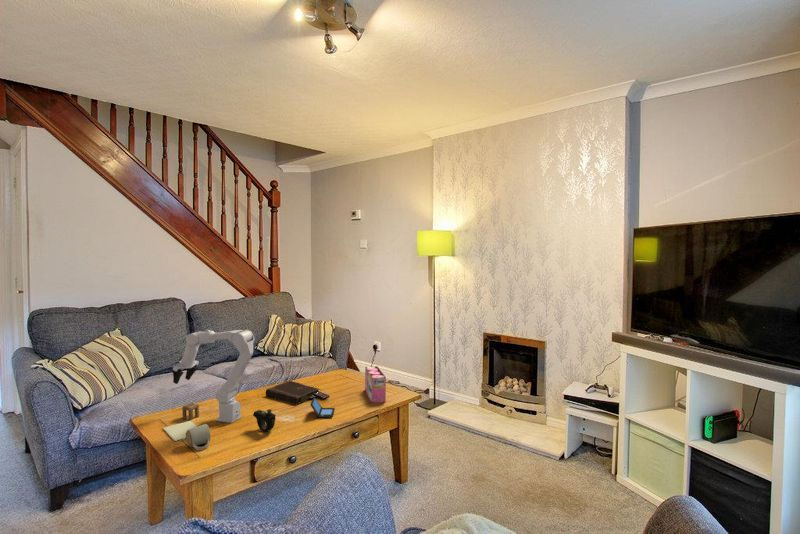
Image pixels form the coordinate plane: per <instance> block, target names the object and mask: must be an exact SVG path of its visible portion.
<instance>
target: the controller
mask: <svg viewBox="0 0 800 534" xmlns="http://www.w3.org/2000/svg"><path fill="white" fill-rule="evenodd" d="M272 411H273V409H267V410H266V411H265V410H261V409H258V410H255V411H253V414H252V415H253V417H254V418H255V419H256V422H257V423H256V424H257V426H258V428H259V429H260V430H261V431H262V432H265V433H266V432H269V431H272V429H274V426H275V424H276V423H275V422H276V416H277V415H276V414H275V413H273V412H272Z"/></svg>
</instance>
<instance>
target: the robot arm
mask: <svg viewBox="0 0 800 534" xmlns="http://www.w3.org/2000/svg"><path fill="white" fill-rule="evenodd" d="M217 340H228V341H229V342H230V343H232V345H233V346H234V347H235V348H236V350H237V351H238V352H239V356H238V357H237V360H236V362H235V363H234V365H233V367H232V369H231V371H230V374H229V376H228V378H227V379H226V381H225V382H224V384H223V385H222V386H221V387H220V388H219V389H218V390H217V391H216V393H215V399H216V401H217V402H218V416H219V417H217V418H216V419H215V420H214V421H215V422H223V423H229V424H231V423H234V422H236V421H237V420H239V419H241V418H243V417H242V414H241V413H242V409H241V408H242V405H241V402H239V401H238V400H236V396H237V395H238V393H239V391H238V390H239V387H240V384H239V383H240V380H241V378H242V376H243V374H244V372H245V371H246V368H247V367H248V364H249V362H250V360H251V358H252V356H253V354H254V341H255V336H254V334H253V332H252V331H251V330H250V329H245V330H243V329H236V330H228V331H220V332H215V331H214V330H211V329H207V330H205V331H200V330H199V331H196V332H192V333H189V334H188V335H186V337H185V342H186V345H185V349H184V351H183V354H182V357H181V360H179V362H178V363H177V364H176V365H173V367H172V369H171V372H172V376H173V383H174V384H176V385H177V384H179V382H180V379H181V377H182V375H183V374H184V371H182V370H183V369H186V373H185V380H187V381H190V380H191V378H193V377H192V376H193V375H194V374H195V373H196V372H197V370H199V364H200V361H198V360H196V358H197V354H198V350H199V347H200V345H203V344H212V343H215V342H216V341H217Z"/></svg>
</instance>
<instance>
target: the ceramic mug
mask: <svg viewBox="0 0 800 534" xmlns="http://www.w3.org/2000/svg"><path fill="white" fill-rule="evenodd" d="M197 426H198V425H197ZM185 441H186V445H187V446H188V447H190V448H194V449H195V450H197V451H203V450H202V449H204V450H206V449H208V447H209V445H210V444H209V443H210V441H211V430H210V428H209V425H208V424H207V423H204V424H200V425H199V426H198V427H195V428H192V429H189V430H188V431H187V432H186V439H185ZM202 445H204V446H202ZM205 448H206V449H205Z"/></svg>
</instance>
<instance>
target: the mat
mask: <svg viewBox="0 0 800 534" xmlns="http://www.w3.org/2000/svg"><path fill="white" fill-rule="evenodd" d="M195 427H198V425H197V424H196V423H194V421H193V420H188V421H184V422H182V423H177V424H173V425H168V426H165V427H162V429H163V430H164V432H165V431H166V434H168V436H169V437H170V438H171V439H172V441H174V442H175V441H176V442H179V441H178V440H180V441H182V440H181V439H183V440H186V439H185V438H186V432H187V431H188V430H189V429H192V428H195Z"/></svg>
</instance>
